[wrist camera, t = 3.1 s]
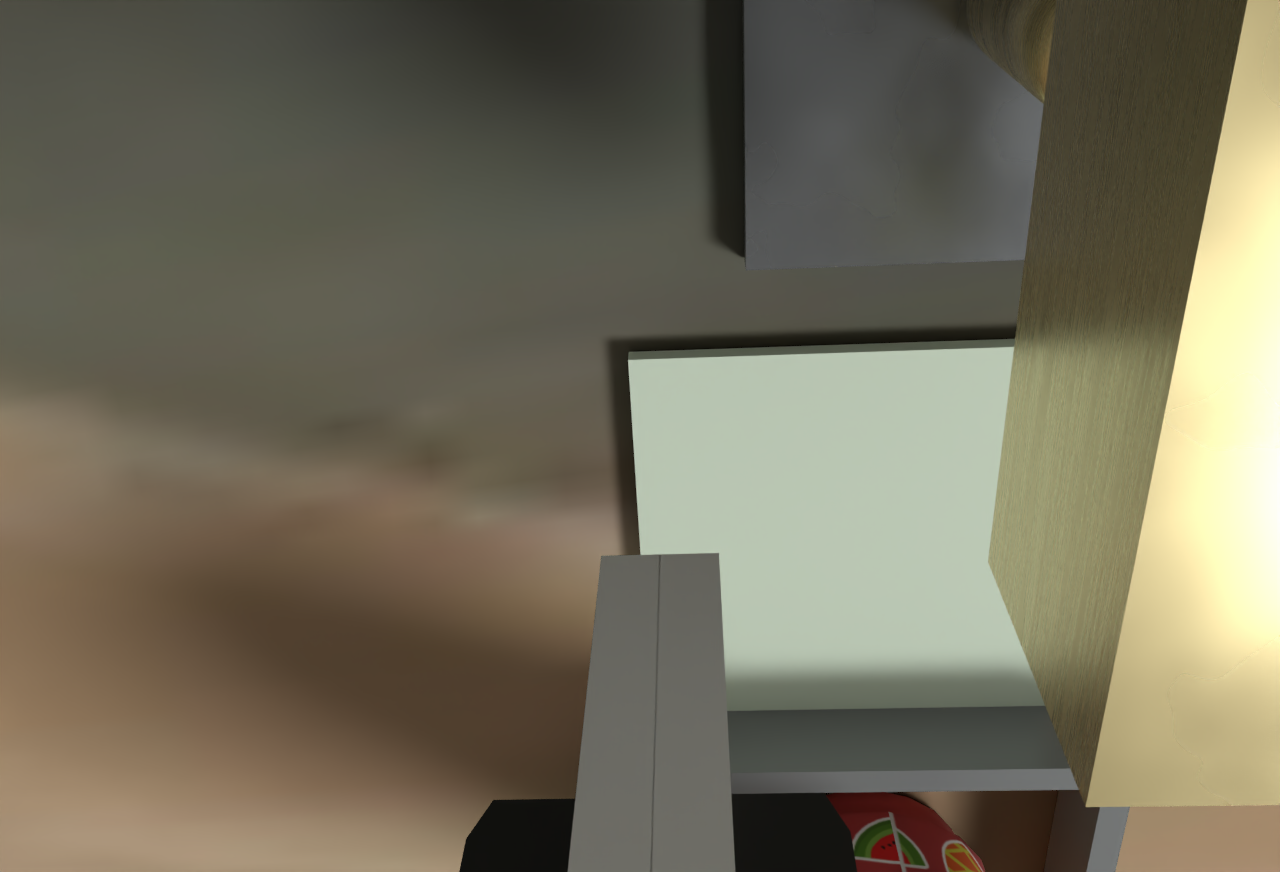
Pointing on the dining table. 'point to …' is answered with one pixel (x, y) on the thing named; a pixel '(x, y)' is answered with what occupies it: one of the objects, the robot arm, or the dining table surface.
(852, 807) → the smoothie
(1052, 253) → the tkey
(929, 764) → the socket
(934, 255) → the lock plate
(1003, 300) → the dining table surface
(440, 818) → the dining table surface
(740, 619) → the mat
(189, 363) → the dining table surface
